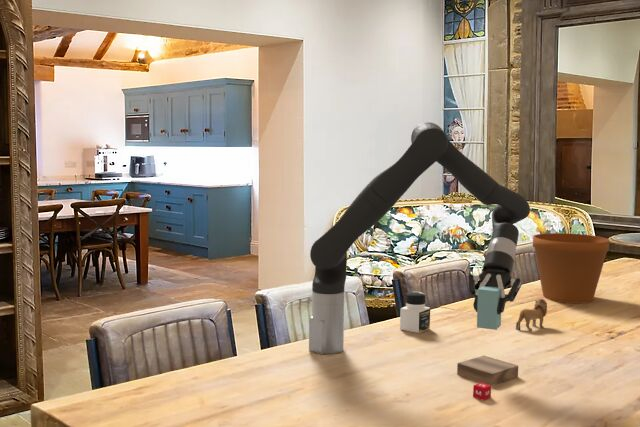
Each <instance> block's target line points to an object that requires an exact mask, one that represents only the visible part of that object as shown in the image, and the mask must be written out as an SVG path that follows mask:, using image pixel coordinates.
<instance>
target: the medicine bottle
mask: <svg viewBox="0 0 640 427" xmlns="http://www.w3.org/2000/svg"><path fill="white" fill-rule="evenodd" d="M405 297H406V298H405V301H406V302H405V306H403V307H401V308H400V318H399V321H400V322H399V325H400V326H399V329H400V331H405V332H409V333H410V332H411V333H415V334H421V333H423V332H425V331H428V330H430V328H431V307H429V306H426V294H425V293H423V292H421V291H410V292H407V293H406V296H405Z"/></svg>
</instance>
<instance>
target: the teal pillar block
mask: <svg viewBox="0 0 640 427" xmlns="http://www.w3.org/2000/svg"><path fill="white" fill-rule="evenodd" d="M477 290H478V303H477V312H476V328H478V329H479V328H481V329H485V330H493V331H494V330H495V331H497V330H498V329H499V328H500V327H501V325H502V313H501V314H498V313H497V307H498V302H499V298H501V297H500V293H501V288H498V287H489V286H485V287H480V288H479V287H478V289H477Z"/></svg>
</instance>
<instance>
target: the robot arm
mask: <svg viewBox="0 0 640 427" xmlns="http://www.w3.org/2000/svg"><path fill="white" fill-rule="evenodd" d="M410 136H411V137H410V142H411V144H410V146H408V148H407V149H406V151H404V153H403V154H402V156H401V157H400V158H399V159H398V160H397V161H396V162H395V163H393V164H392V165H390V166H389V167H387V168H385V170H383V171H381V172H380V173H379V174H377V175H376V176H375V177H373V178H372V180H370V181H369V183H367V185H366V186H365V187H364V188H363V189H362V190H361V191H360V193H358V194H357V196H356V198H355V199H354V200H353V201H352V202H351V204H349V206H348V207H347V209H346V210H345V211H344V213H343V214H342V216H341V217H340V218H339V219H338V220H337V222H335V223H334V225H332V226H331V227H330V228H329V229H328V230H327V231H325V233H324V234H323V235H321V236H320V237H319V238H317V239H316V240H315V241H314V242H313V243H312V246H311V248H310V252H309V254H310V255H309V257H310V261H311V262H312V264H313V265H314V267H315V269H314V277H313V279H312V288H311V290H312V291H311V293H312V294H311V317H309V318H308V350H309V351H312V352H315V353H318V354H320V355H326V354H327V355H329V354H332V355H333V354H338V353H342V352H343V351H344V338H345V337H344V335H345V334H344V332H345V330H344V329H345V288H346V287H345V286H346V280H347V265H348V263H347V262H348V251H349V250H350V249H351V247H352V246H353V244H354V243H355V242H356V241H357V240H358V239H359V238H360V237H361V236H362V235H363V234H365V233H366V232H367V231H369V229H371V228H372V227H373V226H375V225H376V224H377V223H378V222H379V221H380V220H381V219H382V218H383V217H384V216H386V214H387V213H388V212H389V211H390V210H391V209H392V208H393V207H394V206H395V205H396V204H397V202H398V201H399V200H400V199H401V198H402V197H403V195H404V194H405V193H406V192H407V191H408V190H409V189H410V187H411V186H412V185H413V184H414V183H415V182H416V180H417V179H419V178H420V176H421V175H423V174H424V173H425V172H426V171H427V170H428V169H429V168H430V167H431V166H432V165H434V163H438V164H439V165H441V167H442V168H444V169H445V170H446V171H447V172H448V173H449V174H451V176H452V177H453V178H454V179H455V180H456V181H457V182H458V183H459V184H460V185H461V186H462V187H463V188H464V189H465V190H467V191H468V192H469V193H470V194H471V195H472V196H473V197H475V198H476V200H478V201H479V202H480V203H481V204H482V205H484V206H492V205H494V208H493V210H492V211H491V222H492V234H491V237H490V241H489V244H488V246H487V250H486V252H485V257H484V262H483V265H482V270H481V272H479V275H474V274H472V273H470V274H468V292H469V295H470V298H472V299H473V298H474V301H473V310H475V312H476V313H477V303H478V289H479V288H480V287H485V286H489V287H498V288H501V293H500V297H501V298H499V302H498V307H497V313H498V314H501V315H502V314H503V313H504V311H505V308H506V307H505V306H506V303H507V302H510V303H512V302H514V301H515V299H516V297H517V295H518V293H519V291H520V290H521V287H522V281H521V279H520V278H519V277H517V278H512V273H513V267H514V264H515V259H516V255H517V252H516V251H517V246H518V245H517V244H518V240H519V237H520V234H519V229H518V227H517V226H516V225H515V224H517V223H518V222H521V221H522V220H525V219H526V218H527V217H528V216H529V215H530V212H531V206H530V204H529V202H528V200H527V199H526V198H525V197H524V196H523V195H521V194H520V193H519V192H516V191H514V190H512V189H510V188H508V187H506V186H504V185H502V184H500V183H498V182H497V181H496V180H495V179H494V178H493V177H492V176H491V175H489V174H488V173H487V172H486V171H485V170H483V169H482V168H481V167H479V166H478V165H477V164H476V163H474V162H473V160H471V159H470V158H468V157H467V156H466V155H464V154H463V153H462V151H460V150H459V149H458V148H457V147H456V146H455V145H454V144H453V143H452V141H451V140H450V139H449V138H448V135H447V134H446V132H445V131H444V130H443V128H441V126H439V125H438V124H436V123H434V122H429V121H428V122H427V121H425V122H422V123H419V124H418V125H416V126H415V127H414V128H413V129H412V132H411V135H410ZM479 281H480V284H479V287H478V289H477V290H476V285H477V284H478V282H479ZM510 284H511V288H510V289H509V290H508V291H509V292H507V294H506V293H505V288H507V287H508V286H509V285H510Z"/></svg>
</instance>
